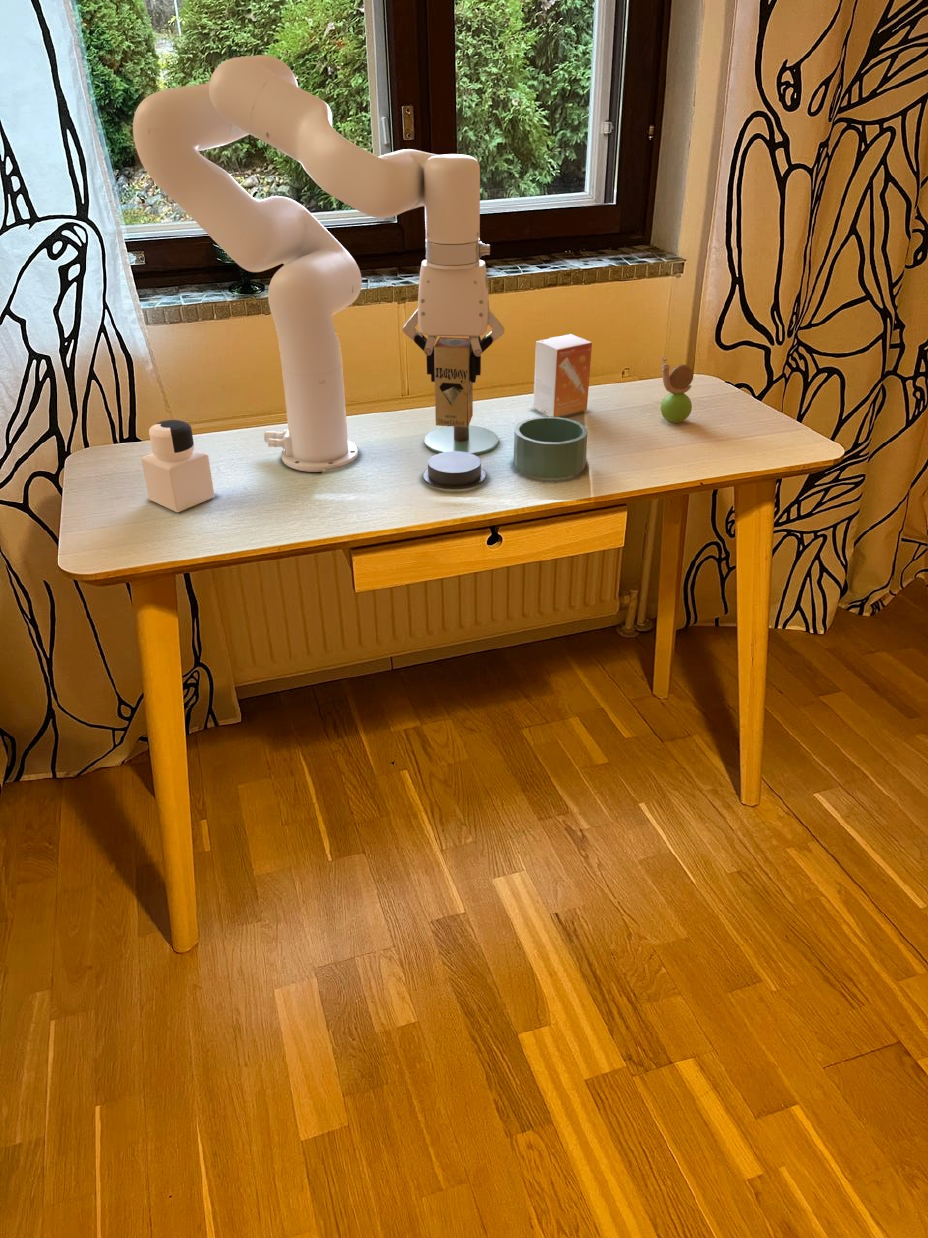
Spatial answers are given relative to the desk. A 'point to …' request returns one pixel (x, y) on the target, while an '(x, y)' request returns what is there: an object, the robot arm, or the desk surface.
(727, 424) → the desk surface
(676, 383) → the snail figurine
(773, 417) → the desk surface
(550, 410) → the small box
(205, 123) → the robot arm
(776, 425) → the desk surface
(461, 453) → the stand
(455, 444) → the tin lid
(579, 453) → the tin
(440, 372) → the shoe polish box
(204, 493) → the medicine bottle
